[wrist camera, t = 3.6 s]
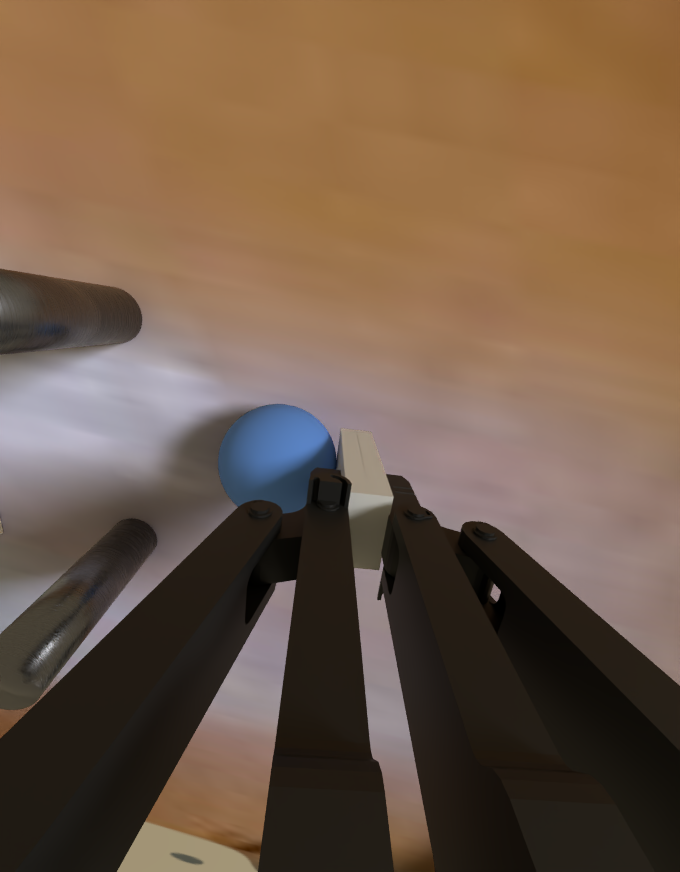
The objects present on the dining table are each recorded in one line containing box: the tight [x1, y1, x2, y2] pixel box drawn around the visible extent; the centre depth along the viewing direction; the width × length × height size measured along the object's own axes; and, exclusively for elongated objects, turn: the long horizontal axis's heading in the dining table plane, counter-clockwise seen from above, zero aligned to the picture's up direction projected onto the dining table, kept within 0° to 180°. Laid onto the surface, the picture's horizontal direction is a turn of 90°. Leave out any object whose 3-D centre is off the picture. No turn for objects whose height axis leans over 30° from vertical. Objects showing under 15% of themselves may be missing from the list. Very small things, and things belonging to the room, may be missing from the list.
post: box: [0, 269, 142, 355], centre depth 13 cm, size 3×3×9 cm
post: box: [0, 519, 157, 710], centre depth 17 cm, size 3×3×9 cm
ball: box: [218, 404, 336, 513], centre depth 17 cm, size 6×6×6 cm
